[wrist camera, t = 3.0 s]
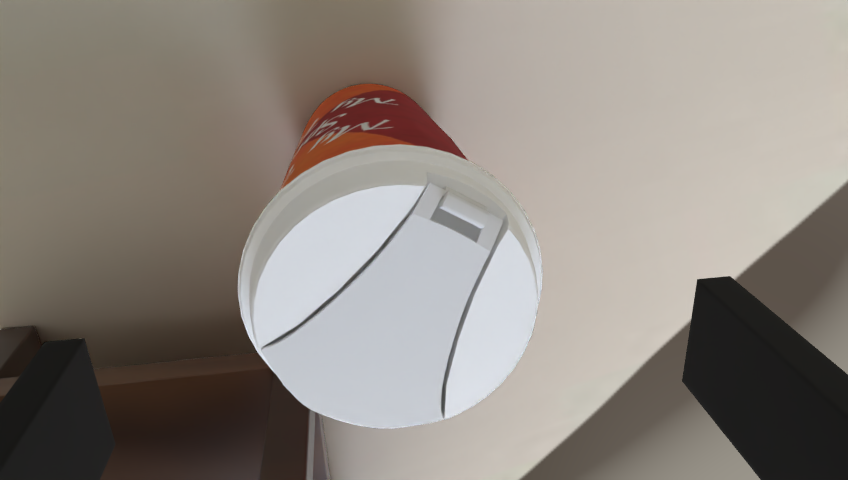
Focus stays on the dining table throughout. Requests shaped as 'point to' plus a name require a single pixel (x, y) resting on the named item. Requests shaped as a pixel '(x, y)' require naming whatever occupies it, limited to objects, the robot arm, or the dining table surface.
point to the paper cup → (388, 268)
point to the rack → (195, 417)
